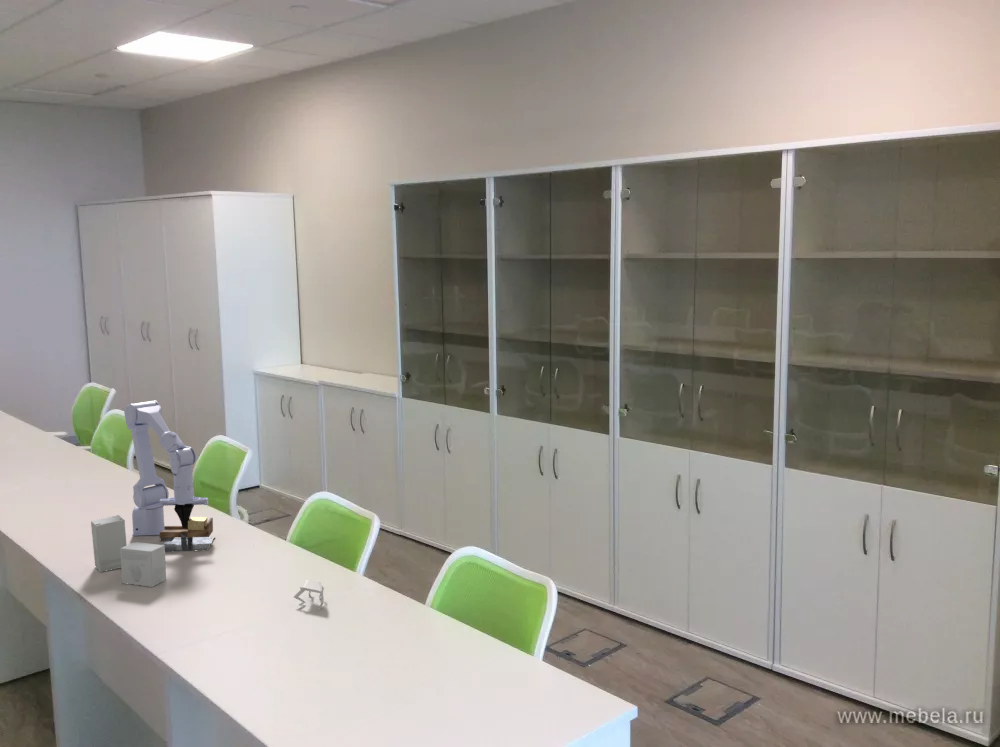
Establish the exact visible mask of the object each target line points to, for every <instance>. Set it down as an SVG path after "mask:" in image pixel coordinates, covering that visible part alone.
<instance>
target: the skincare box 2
mask: <svg viewBox="0 0 1000 747" xmlns="http://www.w3.org/2000/svg"><path fill="white" fill-rule="evenodd" d="M120 553H121V568H120V569H121V584H122V583H128V584H127V585H131V584H134V585H133V586H139V585H141V587H147V586H148V587H150V588H154V587H155V586H157V585H159V584H160V583H163V582H164V581H166V580H167V567H166V552H165V545H163V544H156V543H148V542H147V543H146V542H138V541H134V542H132V543H129V544H127V546H124V547H122V548H120ZM148 587H147V588H148Z"/></svg>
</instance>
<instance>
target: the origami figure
mask: <svg viewBox="0 0 1000 747" xmlns="http://www.w3.org/2000/svg"><path fill="white" fill-rule="evenodd" d="M321 583H322V582H320V581H316V580H312V579H308V578H307V579H306V580H305V582H304V584H303V585H301V586H300V587H299V588H300V590H299V591H298V592H297V593H296V594H295V595H294V596H293V598H294V599H297V600H298V601H300V602H301V603H299V604H298V606H302V605H303V604H306V601H305V600H304V599H303V598H302V599H301V597H300V596H301V595H302V594H303V593H304V592H305V591H307V592H308V597H311V596H310V595H311V593H317V594H319V597H318V598H319V600H320V606H319V607H318V608H317V610H318V611H319V610H321V609H322V606H323V605H324V590H325V587H324V586H323V585H322V584H321Z"/></svg>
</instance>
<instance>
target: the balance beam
mask: <svg viewBox="0 0 1000 747" xmlns="http://www.w3.org/2000/svg"><path fill="white" fill-rule="evenodd" d="M213 520H214V518H213V517H210V518H209V519H208V520H207V530H206V531H188V527H187V528H182V525H164V530H163V531H160V535H159V538H160V541H159V542H161V543H162V542H163V543H165V542H169V541H173V539H174V538H181V534H187V537H211V535H212V533H213V532H214V522H213Z"/></svg>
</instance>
